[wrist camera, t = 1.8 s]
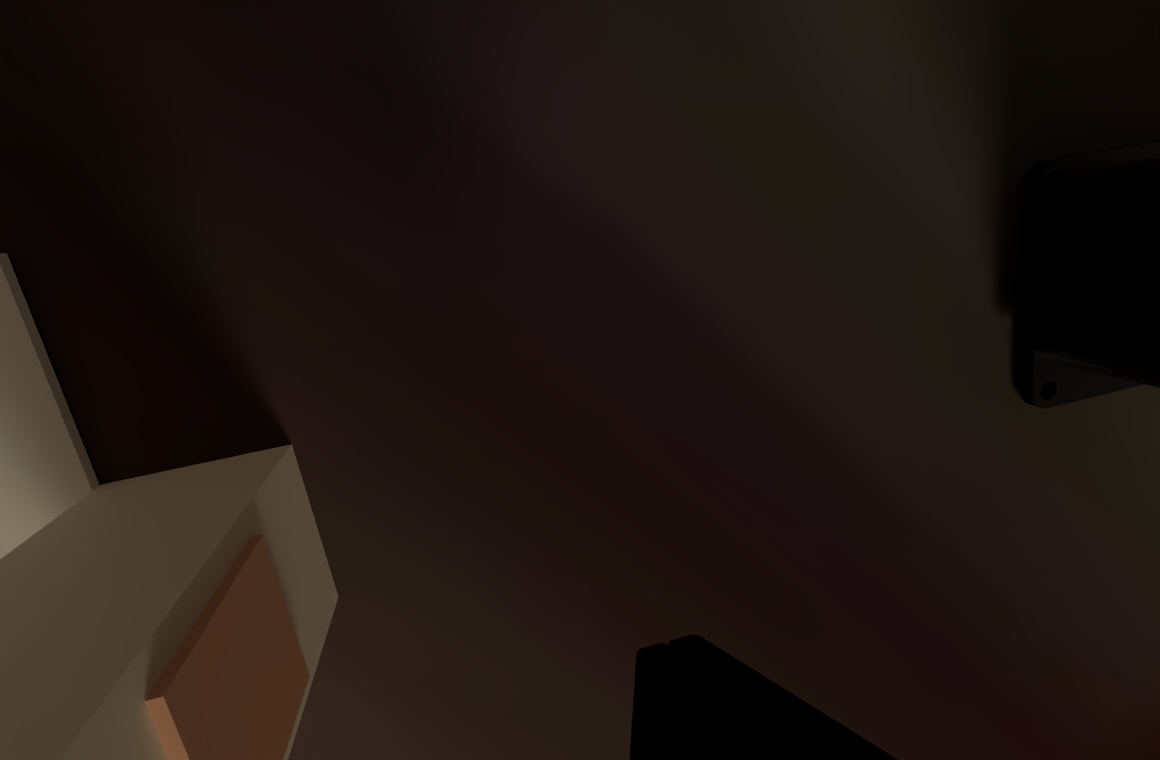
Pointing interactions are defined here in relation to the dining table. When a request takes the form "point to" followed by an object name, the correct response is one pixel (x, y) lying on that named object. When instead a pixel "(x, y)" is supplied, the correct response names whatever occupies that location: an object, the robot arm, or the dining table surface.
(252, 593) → the block
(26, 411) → the mat
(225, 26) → the dining table surface
